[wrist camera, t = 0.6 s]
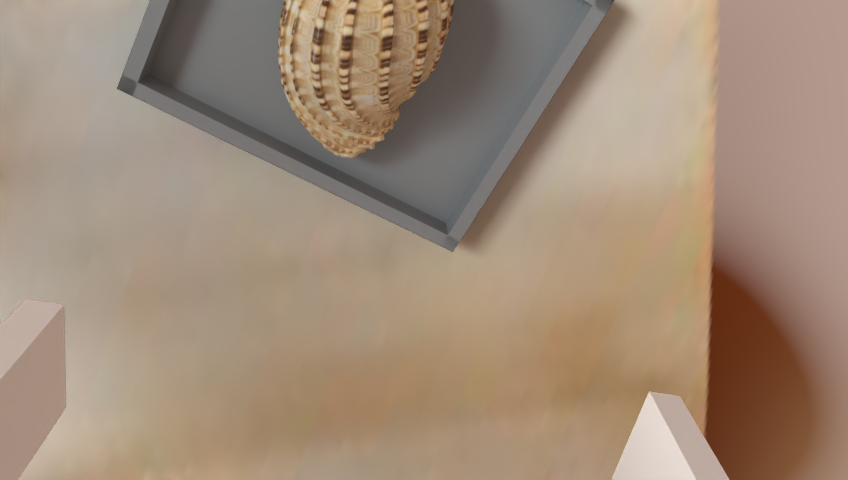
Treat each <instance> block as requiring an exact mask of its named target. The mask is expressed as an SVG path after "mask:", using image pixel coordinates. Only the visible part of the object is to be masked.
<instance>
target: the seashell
mask: <svg viewBox="0 0 848 480" xmlns="http://www.w3.org/2000/svg"><path fill="white" fill-rule="evenodd" d="M453 10H454V0H284V4H283V8H282V12H281V17H280V25H279V33H278V61H279V71H280V75H281V82H282V85H283V89H284V92H285V95H286V97H287V100H288V102H289V104H290V106H291V108H292V110H293V111H294V113H295V114H296V116H297V118H298V119H299V121H300V122H301V123H302V125H303V126H304V127H305V129H307V130H308V131H309V132H310V135H311V136H313V137H314V138H315V139H316V140H317V141H318V142H319V143H320V144H321V145H322V146H323V147H324V148H325V149H327V150H328V151H330V152H332V153H333V154H334V155H336V156H340V157H347V158H355V157H357V155H358V154H360V153H365V152H366V149H367V148H369V149H374V148H375V143H376V142H379V141H382V140H384V134H385V133H386V132H388V131H389V130H391V129H393V127H394V122H395V121H396V120H397V119H398V118H399V115H400V113H399V109H400V108H401V106H402V103H403V102H404V101H406V100H408V99H410V98H411V97H412V96H413V95H414V94H415V92H416V90H417V87H418V85H419V84H420V83H422V82H424V81H425V80H426V79H427V78H428V77H429V76H430V75H431V74H432V72H433V71H434V69H435V67H436V66H437V63H438V61H439V58H440V55H441V52H442V49H443V45H444V43H445V40H446V38H447V35H448V31H449V28H450V24H451V20H452V15H453Z"/></svg>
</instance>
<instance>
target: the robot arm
mask: <svg viewBox="0 0 848 480" xmlns="http://www.w3.org/2000/svg"><path fill="white" fill-rule="evenodd" d="M65 408H66V369H65V322H64V304H58V303H51V302H44V301H38V300H31V299H25V300H24V301H23V302H22V303H21V304H20V305H19V306H18V308H17V309H16V310H15V311H14V312H13V313H12V314H11V315H10V316H9V317H8V318H7V319H6V320H5V321H4V322H3V323H2V324H1V325H0V480H18V479H19V477H20V476H21V474H22V473H23V471H24V470H25V468H26V467H27V465H28V464H29V462H30V461H31V459H32V458H33V456H34V455H35V453H36V452H37V450H38V449H39V447H40V446H41V444H42V443H43V441H44V440H45V438H46V437H47V435H48V434H49V432H50V431H51V429H52V428H53V426H54V425H55V423H56V422H57V420H58V419H59V417H60V416H61V414H62V413H63V411H64V410H65ZM612 480H729V478H728V477H727V475H726V473H725V472H724V470H723V468H722V466H721V465H720V463H719V461H718V460H717V458H716V456H715V455H714V453H713V451H712V450H711V448H710V446H709V445H708V443H707V441H706V439H705V438H704V436H703V434H702V433H701V431H700V429H699V428H698V426H697V424H696V423H695V421H694V419H693V417H692V416H691V414H690V412H689V411H688V409H687V407H686V406H685V404H684V402H683V401H682V399H681V397H680V396H677V395H670V394H664V393H657V392H650V391H649V393H648V395H647V398H646V400H645V402H644V405H643V407H642V409H641V412H640V414H639V416H638V419H637V421H636V423H635V426H634V428H633V430H632V433H631V435H630V437H629V440H628V442H627V444H626V447H625V449H624V451H623V454H622V456H621V458H620V461H619V463H618V465H617V468H616V470H615V472H614V474H613V477H612Z"/></svg>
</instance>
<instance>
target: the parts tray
mask: <svg viewBox="0 0 848 480" xmlns="http://www.w3.org/2000/svg"><path fill="white" fill-rule="evenodd" d="M613 2H614V0H454V10H453V15H452V20H451V24H450V28H449V31H448V35H447V38H446V40H445V43H444V45H443V49H442V52H441V55H440V58H439V61H438V63H437V66H436V67H435V69H434V71H433V72H432V74H431V75H430V76H429V77H428V78H427V79H426V80H425V81H424V82H422V83H420V84H419V85H418V87H417V90H416V92H415V94H414V95H413V96H412V97H411V98H410V99H408V100H406V101H404V102H403V103H402V106H401V108H400V109H399V113H400V115H399V118H398V119H397V120H396V121H395V122H394V127H393V129H391V130H389V131H388V132H386V133H385V134H384V140H382V141H379V142H376V143H375V148H374V149H369V148H367V149H366V152H365V153H360V154H358V155H357V157H355V158H347V157H340V156H336V155H334V154H333V153H332V152H330V151H328V150H327V149H325V148H324V147H323V146H322V145H321V144H320V143H319V142H318V141H317V140H316V139H315V138H314V137H313V136H311V135H310V132H309V131H308V130H307V129H305V127H304V126H303V125H302V123H301V122H300V121H299V119H298V118H297V116H296V114H295V113H294V111H293V110H292V108H291V106H290V104H289V102H288V100H287V97H286V95H285V92H284V89H283V85H282V82H281V75H280V71H279V61H278V33H279V25H280V17H281V12H282V8H283V4H284V0H150V2H149V5H148V7H147V10H146V13H145V15H144V18H143V21H142V23H141V26H140V29H139V31H138V34H137V37H136V39H135V42H134V45H133V47H132V50H131V53H130V55H129V58H128V61H127V63H126V66H125V69H124V71H123V74H122V77H121V79H120V82H119V85H118V87H117V89H119V90H121V91H123V92H125V93H127V94H129V95H131V96H133V97H135V98H137V99H139V100H141V101H144V102H146V103H148V104H150V105H152V106H154V107H156V108H158V109H160V110H162V111H164V112H166V113H168V114H170V115H172V116H174V117H176V118H178V119H180V120H183V121H185V122H187V123H189V124H191V125H193V126H195V127H197V128H199V129H201V130H203V131H205V132H207V133H209V134H211V135H213V136H215V137H217V138H220V139H222V140H224V141H226V142H228V143H230V144H232V145H234V146H236V147H238V148H240V149H242V150H244V151H246V152H248V153H250V154H252V155H254V156H256V157H259V158H261V159H263V160H265V161H267V162H269V163H271V164H273V165H275V166H277V167H279V168H281V169H283V170H285V171H287V172H289V173H291V174H293V175H296V176H298V177H300V178H302V179H304V180H306V181H308V182H310V183H312V184H314V185H316V186H318V187H320V188H322V189H324V190H326V191H328V192H330V193H332V194H335V195H337V196H339V197H341V198H343V199H345V200H347V201H349V202H351V203H353V204H355V205H357V206H359V207H361V208H363V209H365V210H367V211H369V212H371V213H374V214H376V215H378V216H380V217H382V218H384V219H386V220H388V221H390V222H392V223H394V224H396V225H398V226H400V227H402V228H404V229H406V230H408V231H411V232H413V233H415V234H417V235H419V236H421V237H423V238H425V239H427V240H429V241H431V242H433V243H435V244H437V245H439V246H441V247H443V248H445V249H447V250H450V251H452V252H453V251H454V249H455V248H456V246H457V245H458V243H459V242H460V240H461V239H462V237H463V235H464V234H465V232H466V231H467V229H468V228H469V226H470V225H471V223H472V221H473V220H474V218H475V217H476V215H477V214H478V212H479V211H480V209H481V207H482V206H483V204H484V203H485V201H486V200H487V198H488V196H489V195H490V193H491V192H492V190H493V189H494V187H495V186H496V184H497V182H498V181H499V179H500V178H501V176H502V175H503V173H504V172H505V170H506V168H507V167H508V165H509V164H510V162H511V161H512V159H513V157H514V156H515V154H516V153H517V151H518V150H519V148H520V147H521V145H522V143H523V142H524V140H525V139H526V137H527V136H528V134H529V133H530V131H531V129H532V128H533V126H534V125H535V123H536V122H537V120H538V119H539V117H540V115H541V114H542V112H543V111H544V109H545V108H546V106H547V104H548V103H549V101H550V100H551V98H552V97H553V95H554V94H555V92H556V90H557V89H558V87H559V86H560V84H561V83H562V81H563V80H564V78H565V76H566V75H567V73H568V72H569V70H570V69H571V67H572V65H573V64H574V62H575V61H576V59H577V58H578V56H579V55H580V53H581V51H582V50H583V48H584V47H585V45H586V44H587V42H588V41H589V39H590V37H591V36H592V34H593V33H594V31H595V30H596V28H597V27H598V25H599V23H600V22H601V20H602V19H603V17H604V16H605V14H606V12H607V11H608V9H609V8H610V6H611V5H612V3H613Z"/></svg>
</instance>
